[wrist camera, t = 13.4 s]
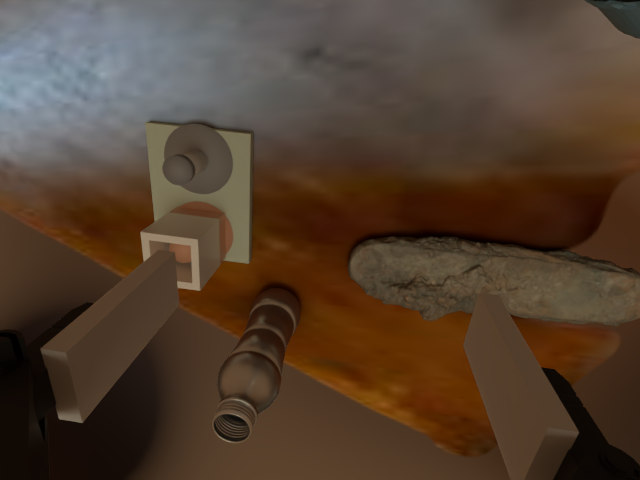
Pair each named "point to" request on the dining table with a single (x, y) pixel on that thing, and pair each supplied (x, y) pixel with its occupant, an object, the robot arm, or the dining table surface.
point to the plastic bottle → (255, 365)
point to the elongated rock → (494, 279)
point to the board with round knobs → (204, 179)
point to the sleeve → (189, 243)
